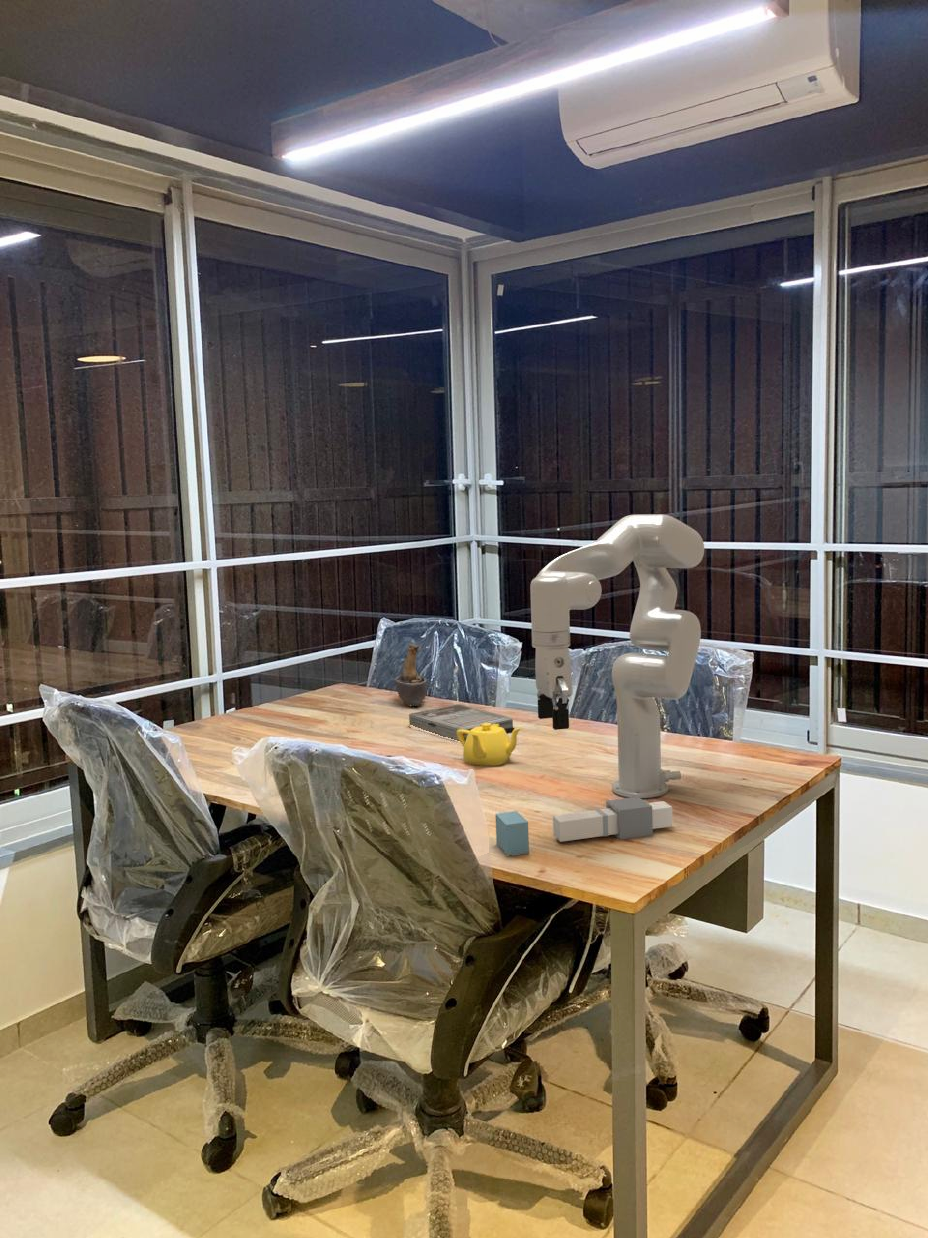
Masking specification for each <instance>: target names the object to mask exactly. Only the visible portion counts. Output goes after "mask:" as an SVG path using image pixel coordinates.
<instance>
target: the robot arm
mask: <svg viewBox="0 0 928 1238" xmlns="http://www.w3.org/2000/svg"><path fill="white" fill-rule="evenodd" d="M704 555H705V544H704V540H703V538H702V537H701V535H700V533H699V532H698V531H696V530H695V528H693V527H691V526H689V525H688V524H685V522H682V521H681V520H679V519H677V518H675V517H673V516H671V515H668V514H664V513H663V514H660V513H659V514H658V513H657V514H655V513H653V514H652V513H651V514H641V513H640V514H629V515H626V516H624V517H622V518H620V519H619V520H617V522H616V523H614V524H613V525H612V526H611V527H610V528H609V529H608V530H607V531H605V532H604V533H603V534H602V535H601V536H600V537H599V538H597V540H595V541H594V542H592V543H589V544H585V545H583V546H581V547H579V548H577V549H574V550H571V551H568V552H567V553H564V554H562V555H559V556H558V557H556V558H554V559H553V560H551V561H550V562H549V563H548V564H547V565H545V567H543V568H542V569H541V570H540V571H539V573H538V574H537V575H536V576H535V577H534V578H533V579H532V580H531V581H530V586H529V587H530V588H529V589H530V592H529V593H530V617H531V619H530V620H531V622H530V623H531V624H530V625H531V647H532V648H535V661H534V662H535V664H534V665H535V667H534V668H535V669H534V670H535V671H534V672H535V673H534V674H535V685H536V686H535V687H536V689H537V695H536V697H537V717H538V719H540V720H544V719H552V720H551V721H552V729H553V730H555V731H557V730H559V731H560V730H568V729H569V728H570V711H569V710H570V704H569V702H570V699H569V698H570V697H572V696H573V692H574V691H573V678H572V666H571V656H570V650H569V647H570V646H571V630H570V627H571V626H570V611H571V610H572V611H573V610H579V611H580V610H581V611H582V610H588V609H590V608H593V607H594V606H595V605H596V604H598V602H599V601H600V599H601V597H602V590H603V589H602V588H603V587H602V584H601V582H600V580H605V579H608V578H609V579H610V578H612V577H615V576H617V575H620V574H621V573H622V572H623V571H624V570H625V569H626V568H627V567H628V566H629V565H630V564H631V563H632V562H633V563H634V566H635V568H636V572H637V575H638V579H639V584H640V585H639V593H638V598H637V601H636V605H635V610H634V613H633V616H632V620H631V625H630V630H629V639H630V640H629V641H630V642H631V644H632V645H633V646H634V647H636V648H639V649H642V650H647V651H654V652H655V651H656V652H667V653H668V654H667V655H663V654H654V653H647V652H646V653H644V652H627V653H623V654H621V655H620V656H618V657H617V658H616V659H615V661H614V662H613V664H612V666H611V679H612V684H613V688H614V690H613V691H614V693H615V701H616V711H617V712H616V713H617V714H616V715H617V724H616V725H617V759H618V760H617V761H618V763H617V764H618V780H615V781H614V782H613V783H612V784H611V790H612V792H613V793H614V794H616V795H618V796H621V797H624V798H631V797H639V798H641V799H649V798H650V799H651V798H656V797H661V796H663V795H665V794H666V793H668V792H669V785H668V782H669V781H671V780H672V781H674V780H676V781H677V780H680V779H682V772H681V771H680V770H675V771H671V770H670V769H664V770H663V769H662V758H661V757H662V752H661V749H662V748H661V747H662V745H661V742H662V741H661V714H660V710H659V708H658V705H657V703H656V701H655V699H662V700H663V699H664V700H672V701H673V700H679V699H682V698H683V697H684V696H685V695H686V693H687V691H688V689H689V686H690V683H691V680H692V678H693V677H692V676H693V672H694V668H695V664H696V660H697V655H698V651H699V647H700V642H701V636H702V630H701V623H700V620H699V618H698V617H697V615H696V614H695V613H693V612H691V611H689V610H683V609H675V608H676V607H675V606H676V602H677V599H678V588H677V586H676V583H675V581H674V579H673V577H672V576H671V574H670V573H669V571H668V570H667V569H668V568H669V569H692V568H694V567H697V566H698V565H699V564H700V563H701V562H702V561H703V557H704Z"/></svg>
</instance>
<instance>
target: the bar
mask: <svg viewBox="0 0 928 1238" xmlns="http://www.w3.org/2000/svg"><path fill="white" fill-rule="evenodd" d="M647 803H648V804H650V805H651V806H652V824H653V830H655V829H662V828H668V827H673V806H672V805H670V804H669V803H667V802H666V801H664V800H662V801H653V802H647ZM552 833H553V836H554V837H555V838H556V839H557V840H558V841H559V842H560V843H561V842H568V841H575V840H576V841H577V840H582V839H591V838H598V837H608V836H610V835H611V836H612V835H613V834H618V812H617V811H616V810H614V809H613V808H607V809H606V808H595V809H594V810H586V811H579V812H571V813H570V812H569V813H562V814H555V815H552ZM613 836H614V835H613Z"/></svg>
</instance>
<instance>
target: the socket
mask: <svg viewBox="0 0 928 1238" xmlns="http://www.w3.org/2000/svg"><path fill="white" fill-rule="evenodd" d="M495 836H496V839H495V841H496V845H497V846H498V848H499V849H500V850H501V851H502V852H503V853H504V854H505V856H507V855H512V856H518V855H526V854H530V840H529V822H528V821H527V819H525V817H523V816H522V814H520V813H519V812H518V811H517V810H514V811H506V812H497V813H495Z"/></svg>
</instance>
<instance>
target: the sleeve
mask: <svg viewBox="0 0 928 1238" xmlns="http://www.w3.org/2000/svg"><path fill="white" fill-rule="evenodd" d="M648 803H649V802H646V801H645V800H644V799H643V798H639V797H623V798H617V799H616V798H615V799H610V800H609V799H608V800H606V801H605V807H606V808H605V809H607V808H613V809H614V810H616V811H617V812H618V834H613V836H615V837H616V838H617V839H619V840H620V841H622V840H628V839H630V840H631V839H635V838H642V837H643V838H644V837H650V836H653V834H654V833H653V831H654V829H653V824H652V806H651V805H650V804H648Z"/></svg>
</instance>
